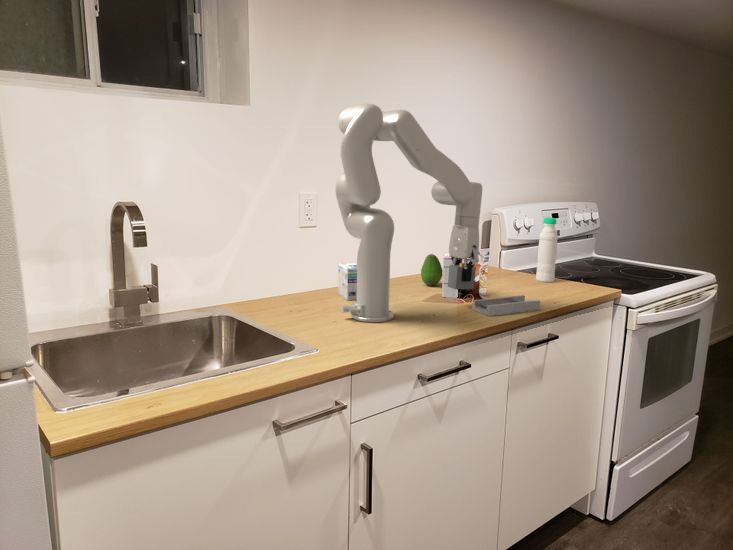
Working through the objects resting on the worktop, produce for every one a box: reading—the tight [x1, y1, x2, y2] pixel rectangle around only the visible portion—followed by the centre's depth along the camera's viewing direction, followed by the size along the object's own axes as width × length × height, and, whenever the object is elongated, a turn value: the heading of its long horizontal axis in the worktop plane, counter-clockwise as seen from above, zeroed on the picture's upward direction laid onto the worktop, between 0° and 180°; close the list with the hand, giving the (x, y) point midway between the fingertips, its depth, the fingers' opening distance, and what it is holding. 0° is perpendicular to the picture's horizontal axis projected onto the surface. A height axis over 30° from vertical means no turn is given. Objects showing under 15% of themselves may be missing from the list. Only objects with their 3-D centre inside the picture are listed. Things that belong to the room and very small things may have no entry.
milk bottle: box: [535, 217, 559, 283], centre depth 219 cm, size 7×7×25 cm
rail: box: [471, 294, 542, 317], centre depth 175 cm, size 20×9×3 cm, turn 116°
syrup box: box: [441, 253, 459, 299], centre depth 191 cm, size 6×6×14 cm
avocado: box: [420, 253, 443, 287], centre depth 208 cm, size 8×8×12 cm
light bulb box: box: [337, 262, 357, 301], centre depth 188 cm, size 11×7×11 cm, turn 20°
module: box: [448, 262, 477, 290], centre depth 177 cm, size 7×4×8 cm, turn 116°
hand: (461, 279), depth 177 cm, fingers closed on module, 4 cm apart
